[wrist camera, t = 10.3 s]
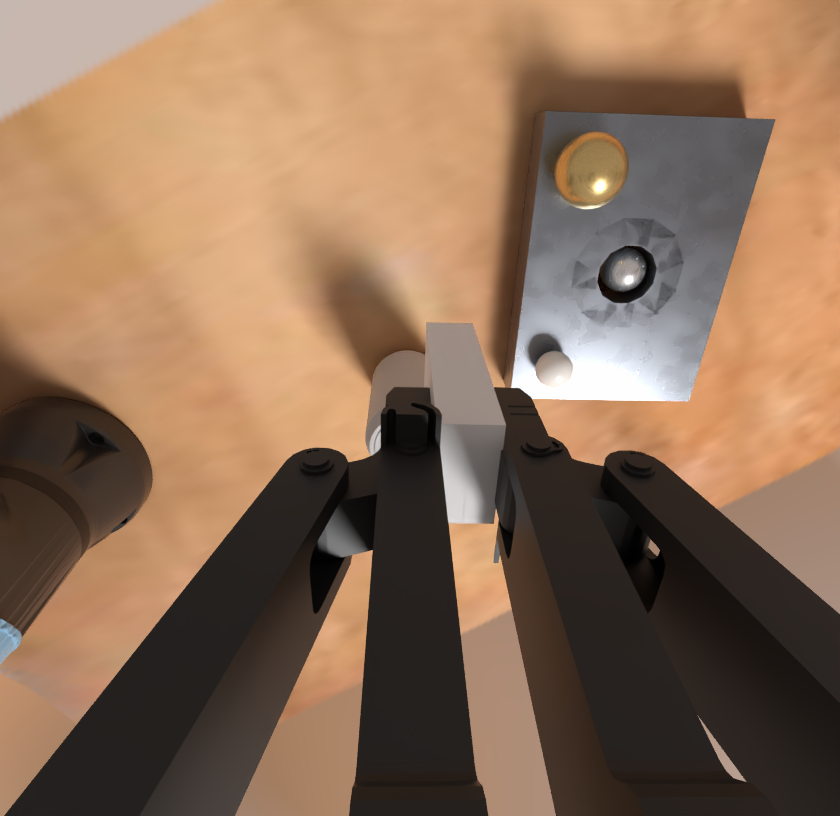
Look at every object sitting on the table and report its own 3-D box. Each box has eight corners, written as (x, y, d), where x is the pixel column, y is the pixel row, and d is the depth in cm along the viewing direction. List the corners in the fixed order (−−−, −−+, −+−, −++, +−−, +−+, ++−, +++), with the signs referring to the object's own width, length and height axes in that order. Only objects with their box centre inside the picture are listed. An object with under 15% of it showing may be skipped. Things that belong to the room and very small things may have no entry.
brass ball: (542, 203, 39) (559, 213, 35) (552, 129, 37) (571, 130, 32) (607, 205, 39) (631, 215, 35) (620, 131, 37) (648, 133, 32)
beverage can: (394, 334, 47) (390, 395, 37) (454, 367, 49) (468, 435, 38) (360, 390, 50) (348, 461, 39) (419, 419, 51) (422, 496, 41)
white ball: (529, 377, 46) (537, 393, 43) (534, 345, 44) (542, 359, 41) (564, 378, 46) (574, 394, 43) (570, 345, 44) (580, 360, 42)
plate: (503, 380, 49) (509, 398, 46) (535, 111, 39) (546, 110, 36) (671, 384, 50) (688, 401, 47) (746, 119, 40) (775, 119, 37)
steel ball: (647, 292, 44) (609, 282, 46) (658, 249, 42) (618, 241, 44) (627, 299, 42) (588, 289, 44) (638, 254, 40) (596, 246, 42)
